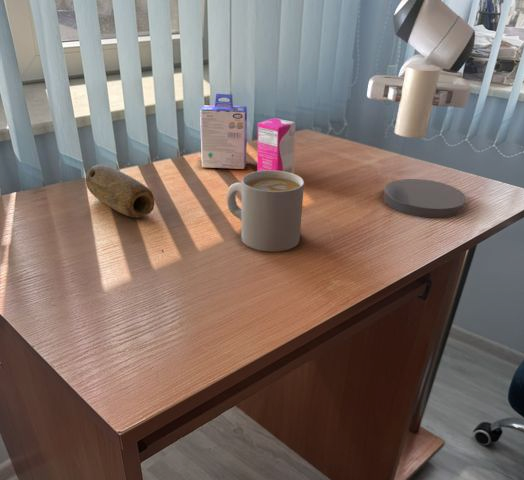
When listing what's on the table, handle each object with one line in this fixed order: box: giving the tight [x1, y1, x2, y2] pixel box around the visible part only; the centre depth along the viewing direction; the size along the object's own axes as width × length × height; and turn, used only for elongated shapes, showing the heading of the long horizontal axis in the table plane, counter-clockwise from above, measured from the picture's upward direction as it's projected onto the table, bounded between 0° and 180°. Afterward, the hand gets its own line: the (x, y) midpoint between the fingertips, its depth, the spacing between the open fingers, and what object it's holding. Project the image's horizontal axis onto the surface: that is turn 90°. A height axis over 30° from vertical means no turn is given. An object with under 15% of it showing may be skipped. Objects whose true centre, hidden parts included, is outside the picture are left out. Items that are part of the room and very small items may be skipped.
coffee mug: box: [226, 170, 305, 252], centre depth 87 cm, size 13×10×10 cm
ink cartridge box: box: [199, 93, 248, 170], centre depth 114 cm, size 10×6×14 cm, turn 89°
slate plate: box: [382, 178, 467, 219], centre depth 104 cm, size 16×16×2 cm
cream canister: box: [393, 64, 441, 139], centre depth 102 cm, size 6×6×12 cm
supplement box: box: [256, 117, 296, 174], centre depth 109 cm, size 6×6×12 cm
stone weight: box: [85, 164, 155, 218], centre depth 95 cm, size 15×7×7 cm, turn 49°
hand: (417, 99), depth 101 cm, fingers closed on cream canister, 6 cm apart
